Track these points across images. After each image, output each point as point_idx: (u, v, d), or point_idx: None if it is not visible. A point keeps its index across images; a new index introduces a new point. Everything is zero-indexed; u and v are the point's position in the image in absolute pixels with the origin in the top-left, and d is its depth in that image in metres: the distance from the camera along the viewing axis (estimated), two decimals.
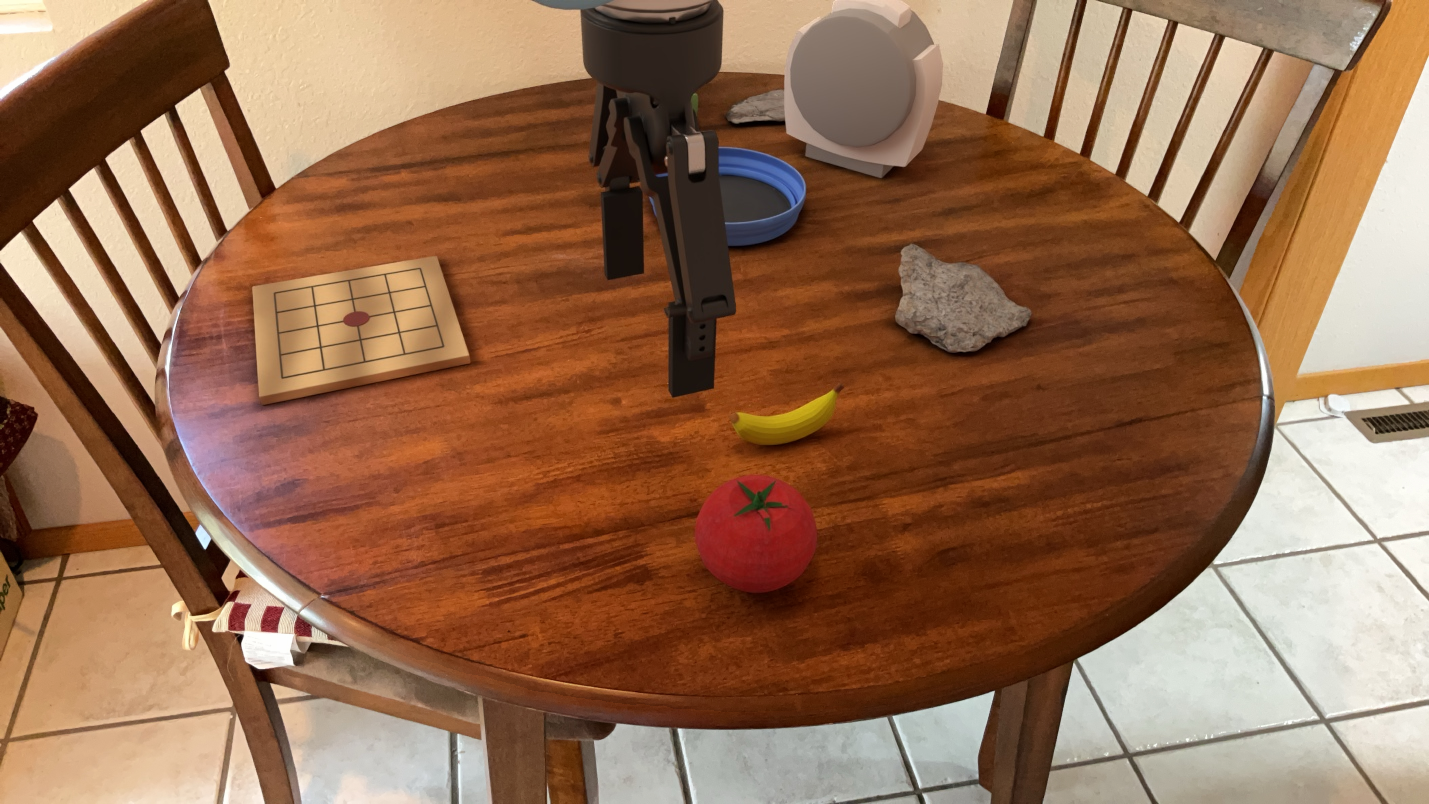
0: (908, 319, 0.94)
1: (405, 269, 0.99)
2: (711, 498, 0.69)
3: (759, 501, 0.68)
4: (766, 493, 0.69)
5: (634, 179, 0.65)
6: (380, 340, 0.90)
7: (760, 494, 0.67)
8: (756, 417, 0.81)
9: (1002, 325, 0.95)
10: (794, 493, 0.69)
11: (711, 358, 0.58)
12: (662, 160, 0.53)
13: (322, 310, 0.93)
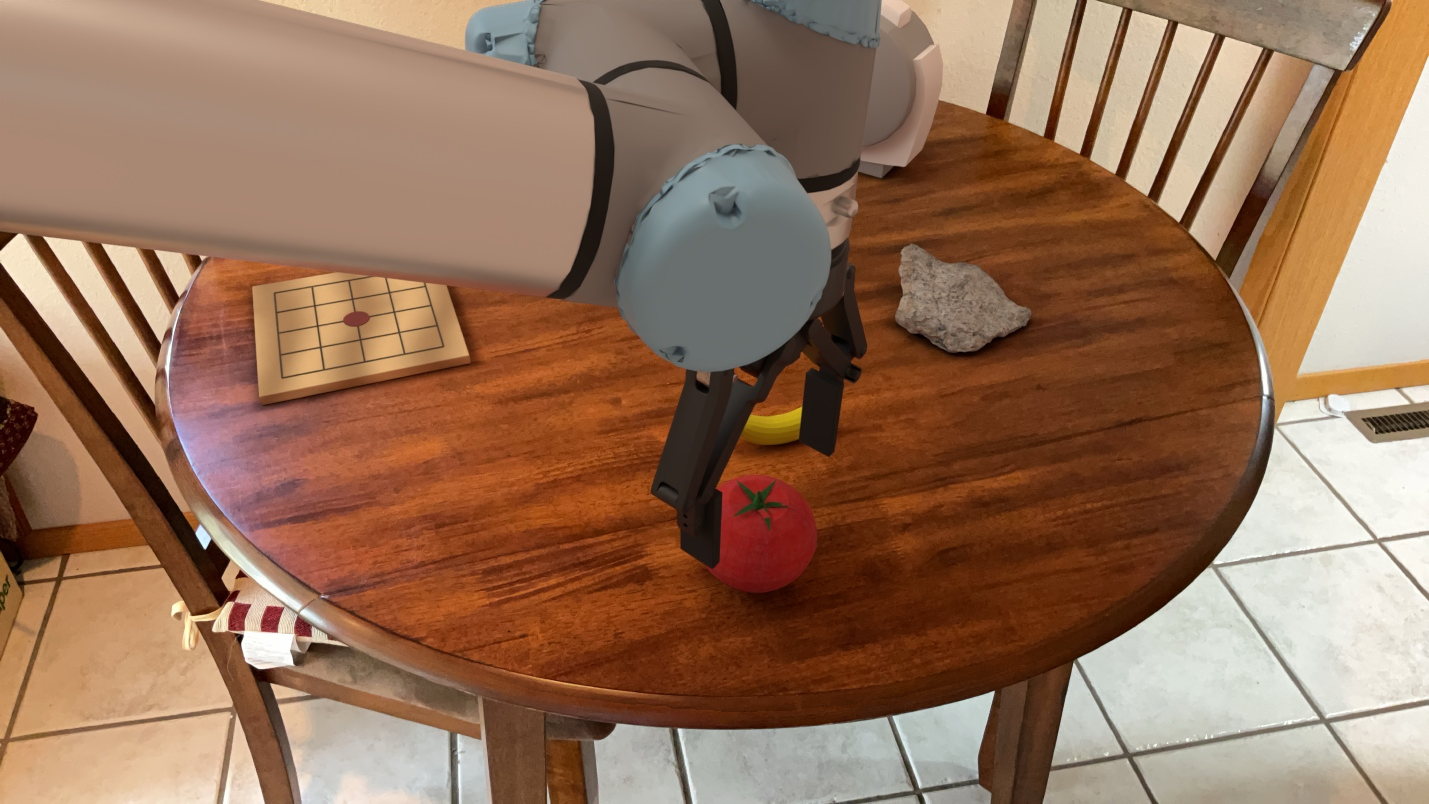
0: (908, 319, 0.94)
1: None
2: None
3: (759, 501, 0.67)
4: (766, 494, 0.69)
5: (838, 375, 0.67)
6: (380, 340, 0.90)
7: (760, 494, 0.67)
8: (756, 417, 0.81)
9: (1002, 325, 0.95)
10: (794, 493, 0.69)
11: (710, 542, 0.61)
12: None
13: (322, 310, 0.93)
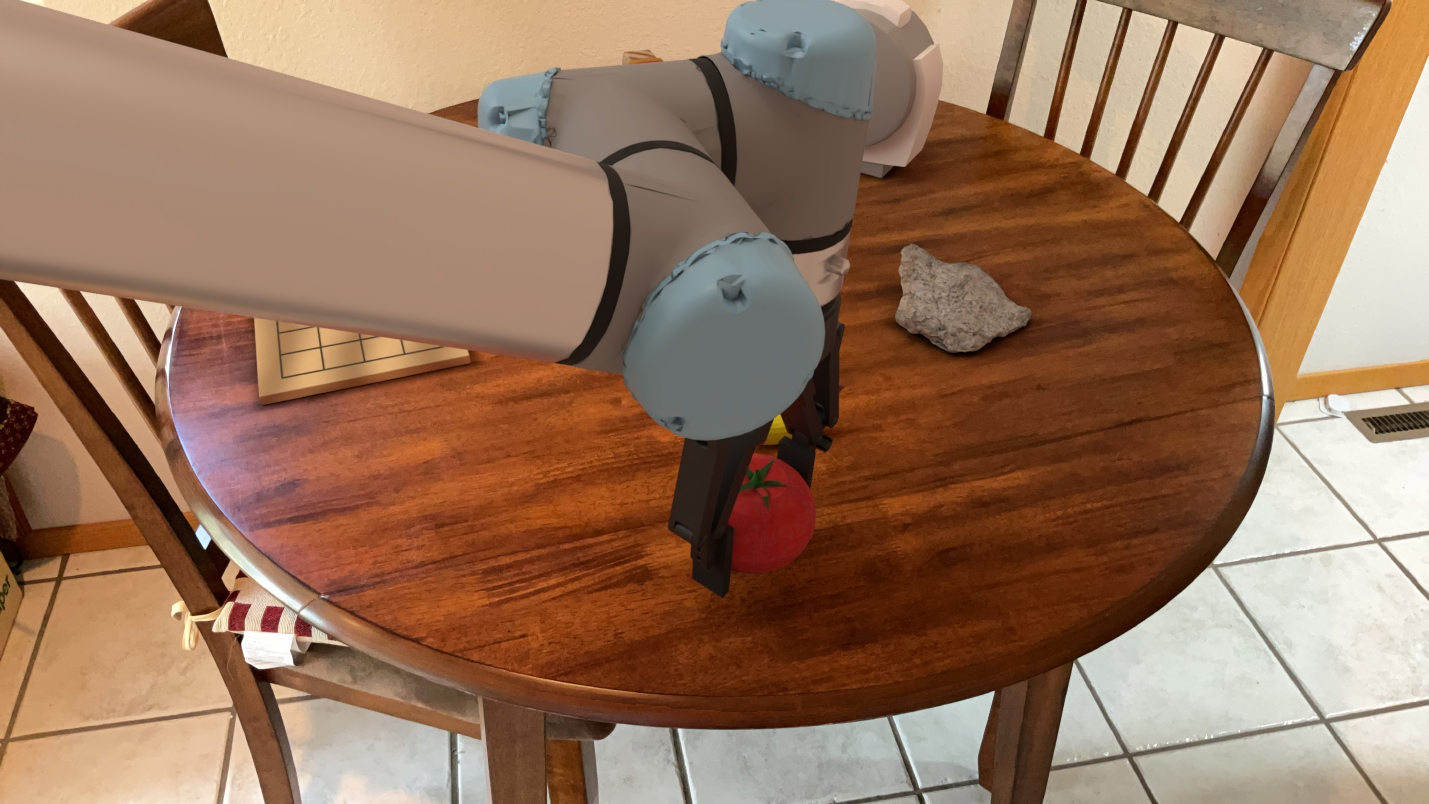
0: (908, 319, 0.94)
1: None
2: None
3: (757, 480, 0.66)
4: (765, 472, 0.67)
5: (811, 442, 0.69)
6: (380, 340, 0.90)
7: (758, 472, 0.66)
8: None
9: (1002, 325, 0.95)
10: (793, 472, 0.68)
11: (721, 574, 0.66)
12: None
13: None
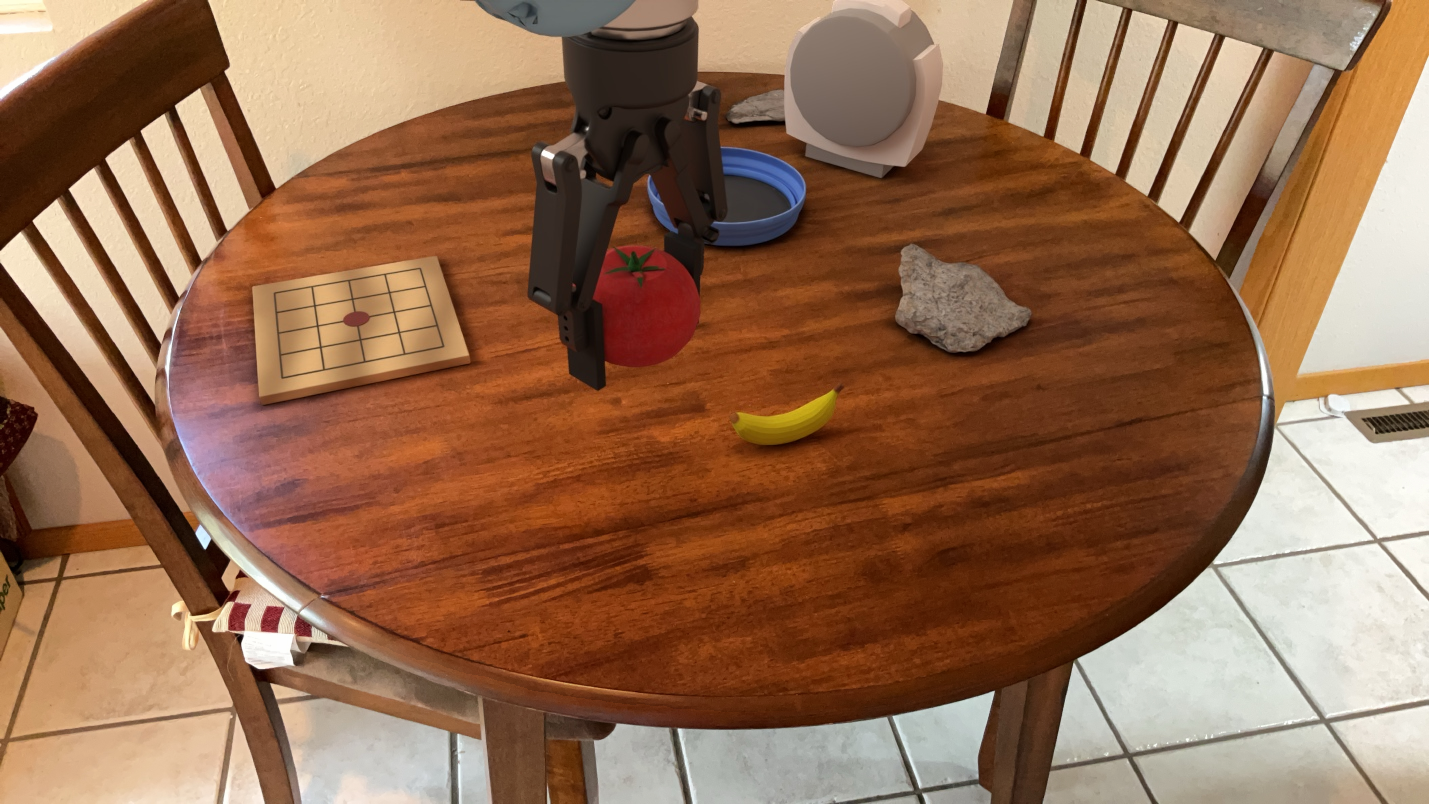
0: (908, 319, 0.94)
1: (405, 269, 0.99)
2: None
3: (634, 263, 0.63)
4: (644, 259, 0.64)
5: (695, 232, 0.65)
6: (380, 340, 0.90)
7: (634, 254, 0.62)
8: (756, 417, 0.81)
9: (1002, 325, 0.95)
10: (675, 261, 0.64)
11: (593, 360, 0.62)
12: (593, 158, 0.56)
13: (322, 310, 0.93)
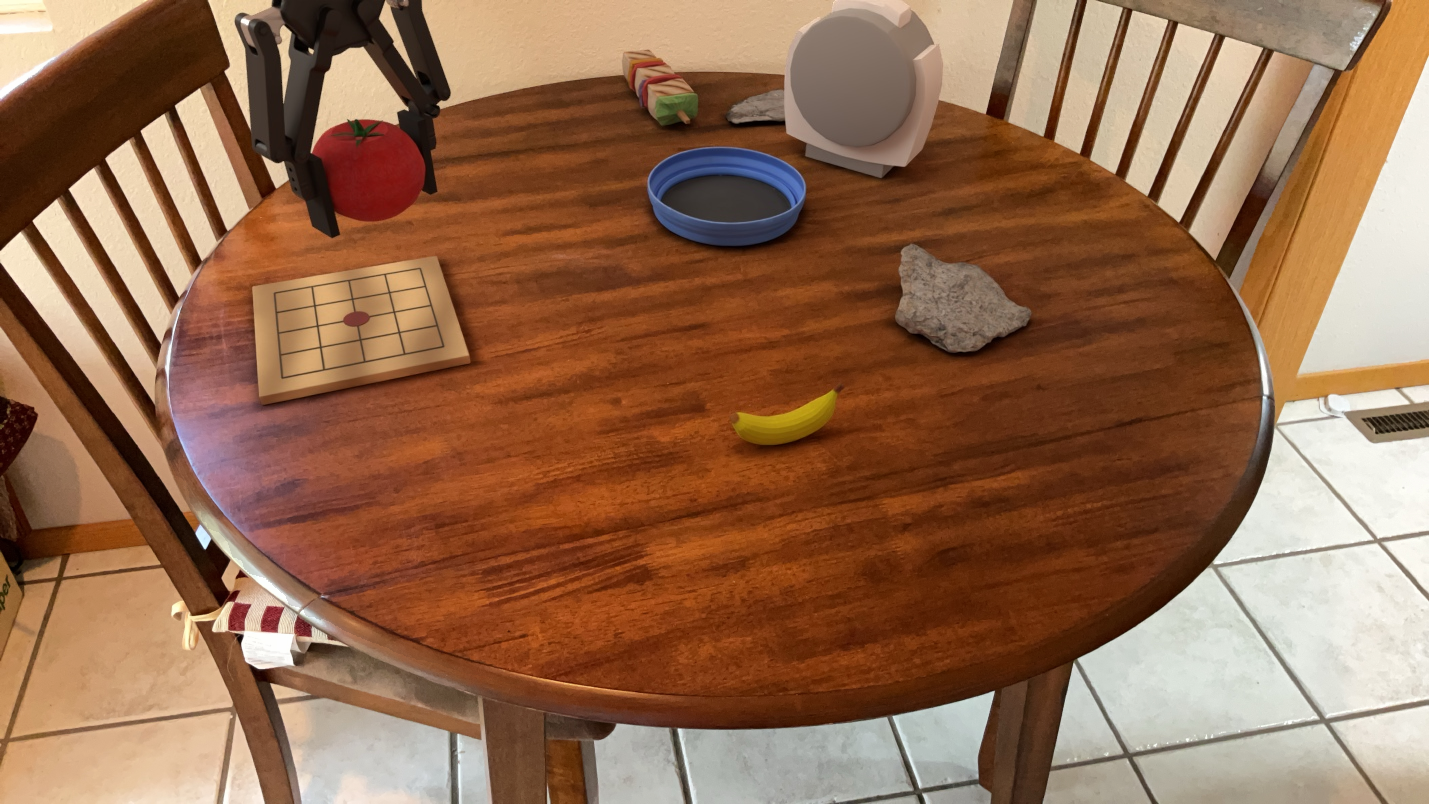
0: (908, 318, 0.94)
1: (405, 269, 0.99)
2: None
3: (358, 130, 0.75)
4: (370, 128, 0.76)
5: (418, 108, 0.78)
6: (380, 340, 0.90)
7: (357, 121, 0.75)
8: (756, 417, 0.81)
9: (1002, 325, 0.95)
10: (397, 130, 0.77)
11: (323, 210, 0.75)
12: None
13: (322, 310, 0.93)
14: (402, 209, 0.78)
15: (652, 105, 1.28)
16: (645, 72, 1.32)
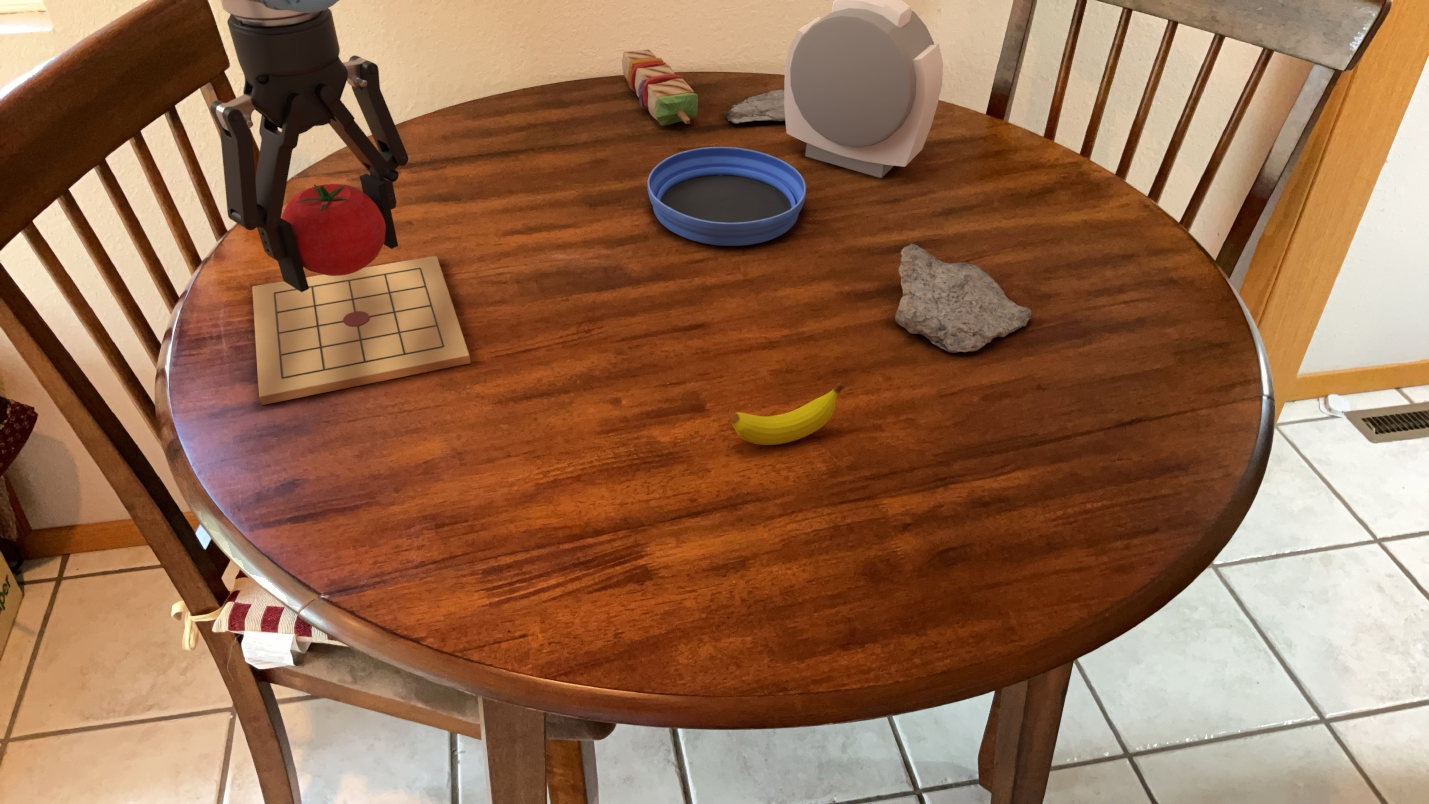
0: (908, 319, 0.94)
1: (405, 269, 0.99)
2: None
3: (323, 195, 0.84)
4: (335, 193, 0.85)
5: (378, 173, 0.86)
6: (380, 340, 0.90)
7: (322, 188, 0.84)
8: (756, 417, 0.81)
9: (1002, 325, 0.95)
10: (359, 194, 0.85)
11: (293, 268, 0.83)
12: None
13: (322, 310, 0.93)
14: (365, 264, 0.86)
15: (652, 105, 1.28)
16: (645, 72, 1.32)
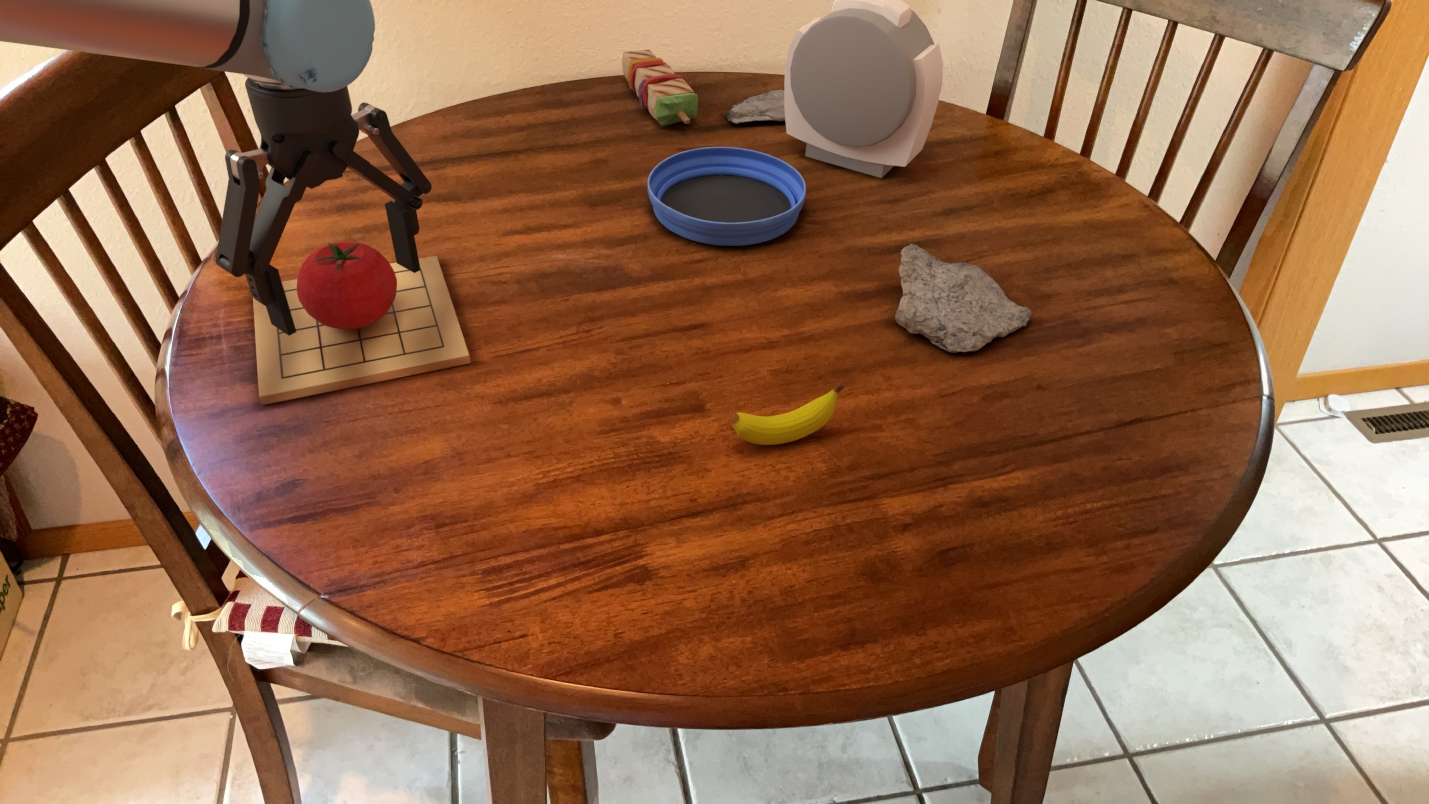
0: (908, 318, 0.94)
1: (405, 269, 0.99)
2: None
3: (338, 254, 0.88)
4: (349, 251, 0.89)
5: (403, 203, 0.90)
6: (380, 340, 0.90)
7: (337, 247, 0.87)
8: (756, 417, 0.81)
9: (1002, 325, 0.95)
10: (372, 252, 0.89)
11: (280, 312, 0.84)
12: (278, 171, 0.80)
13: None
14: (377, 319, 0.90)
15: (652, 105, 1.28)
16: (645, 72, 1.32)
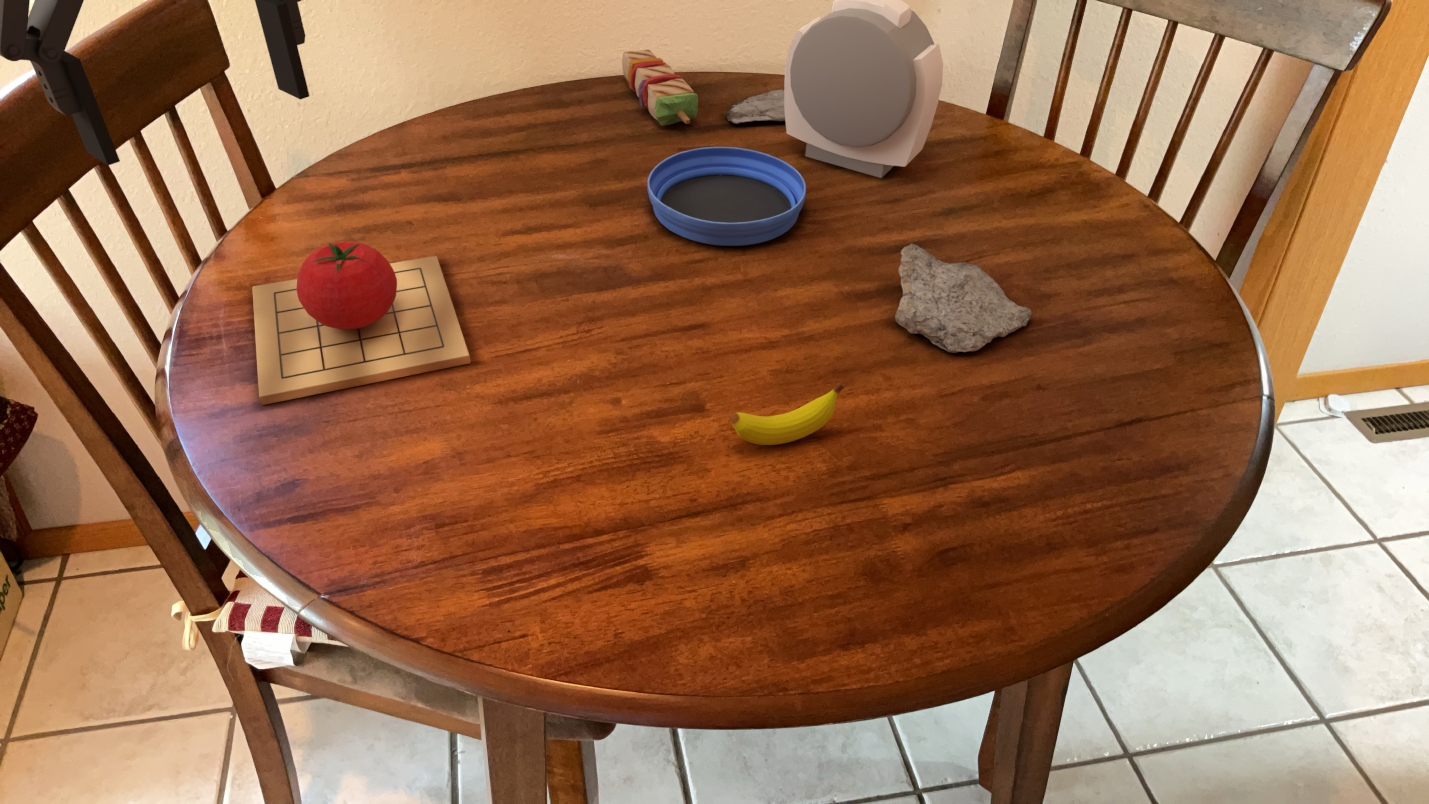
0: (908, 319, 0.94)
1: (405, 269, 0.99)
2: None
3: (338, 254, 0.88)
4: (349, 251, 0.89)
5: None
6: (380, 340, 0.90)
7: (337, 247, 0.87)
8: (756, 417, 0.81)
9: (1002, 325, 0.95)
10: (372, 252, 0.89)
11: (91, 128, 0.59)
12: None
13: None
14: (377, 319, 0.90)
15: (652, 105, 1.28)
16: (645, 72, 1.32)
